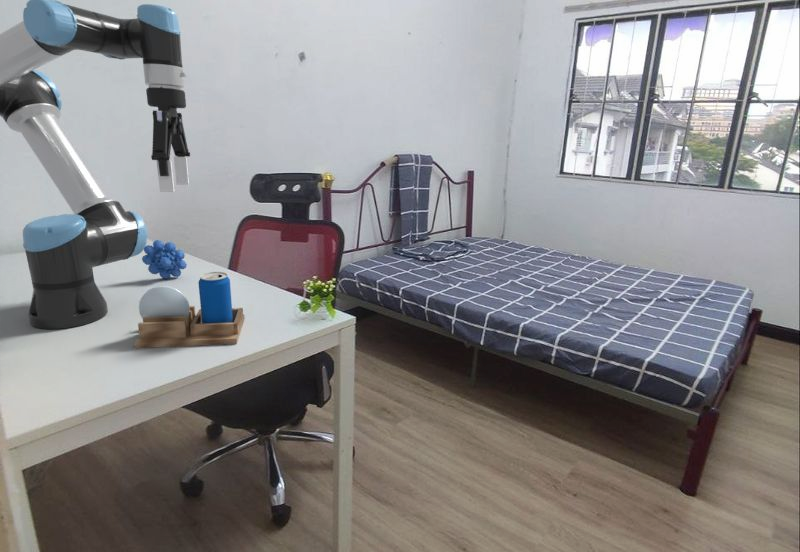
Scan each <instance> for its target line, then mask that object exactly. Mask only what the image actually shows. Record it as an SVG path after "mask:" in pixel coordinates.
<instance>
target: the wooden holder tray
mask: <svg viewBox="0 0 800 552" xmlns="http://www.w3.org/2000/svg"><path fill="white" fill-rule="evenodd" d="M189 306H190V311H189V315H188V316H163V317H144V318H142V322H138V324H137V327H138V335H139V337H138V338H137V340H135V342H134V345H135V349H143V348H144V349H147V348H149V349H150V348H171V347H189V346H190V347H192V346H194V347H195V346H212V345H232V344H233V345H235V344H238V342H239V338H240V335H241V332H242V328H243V326H244V322H245V318H246V317H245V313H244V311H243V310H244V309H243V307H232V316H233V323H206V324H202V315H201V308H199V309H198V311H197V313H196V306H195V305H189Z"/></svg>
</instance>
